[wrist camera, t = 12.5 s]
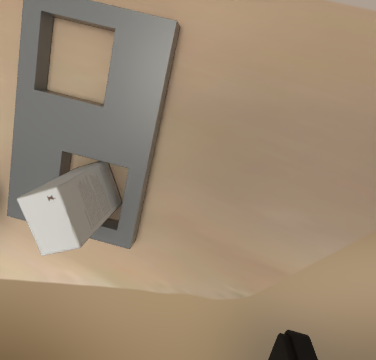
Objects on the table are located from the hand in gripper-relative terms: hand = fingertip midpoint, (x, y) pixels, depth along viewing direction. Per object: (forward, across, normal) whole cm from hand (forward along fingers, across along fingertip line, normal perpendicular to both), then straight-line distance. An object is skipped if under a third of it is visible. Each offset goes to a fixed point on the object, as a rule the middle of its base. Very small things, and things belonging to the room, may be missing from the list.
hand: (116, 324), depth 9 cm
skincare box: (+28, +11, +7) cm, 31 cm away
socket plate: (+28, +13, 0) cm, 31 cm away
